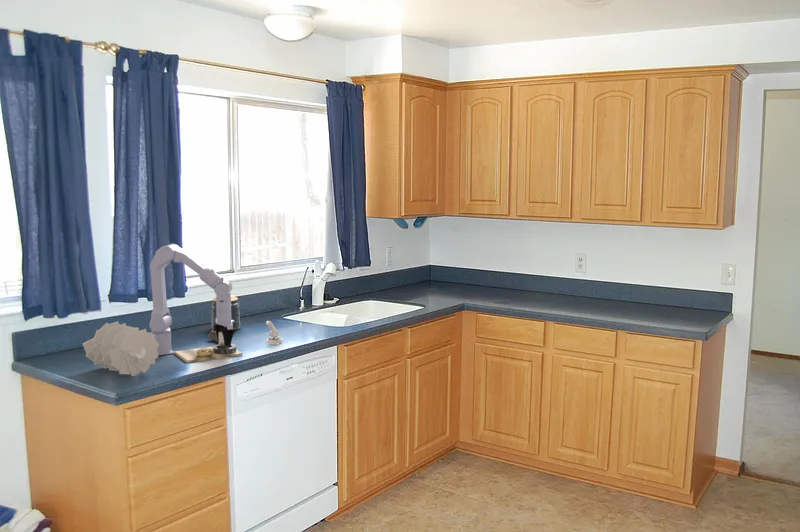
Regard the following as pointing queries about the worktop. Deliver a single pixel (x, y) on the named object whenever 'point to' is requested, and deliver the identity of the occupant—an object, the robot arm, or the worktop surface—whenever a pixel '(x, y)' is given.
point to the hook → (273, 334)
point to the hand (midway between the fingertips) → (224, 343)
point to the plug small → (204, 353)
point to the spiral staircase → (122, 348)
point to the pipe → (213, 335)
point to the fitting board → (192, 357)
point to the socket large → (224, 349)
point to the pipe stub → (221, 341)
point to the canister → (234, 312)
